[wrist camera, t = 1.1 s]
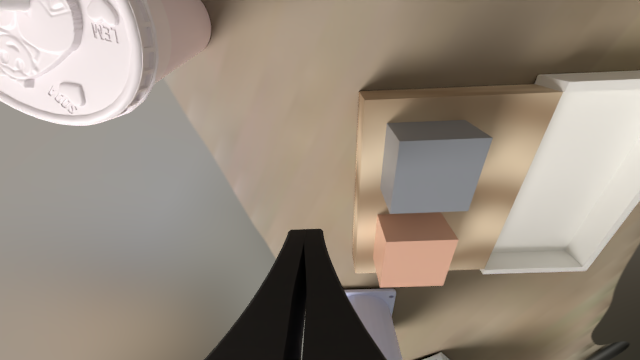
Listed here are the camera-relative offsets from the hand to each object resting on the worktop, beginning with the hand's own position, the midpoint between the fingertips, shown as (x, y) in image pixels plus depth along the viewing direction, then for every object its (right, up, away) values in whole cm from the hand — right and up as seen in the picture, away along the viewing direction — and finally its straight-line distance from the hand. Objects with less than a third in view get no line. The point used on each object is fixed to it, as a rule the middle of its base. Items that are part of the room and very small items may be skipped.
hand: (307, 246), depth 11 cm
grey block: (+7, +4, +7) cm, 11 cm away
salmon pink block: (+8, -2, +11) cm, 13 cm away
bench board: (+10, +2, +11) cm, 15 cm away
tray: (+20, +3, +11) cm, 23 cm away
